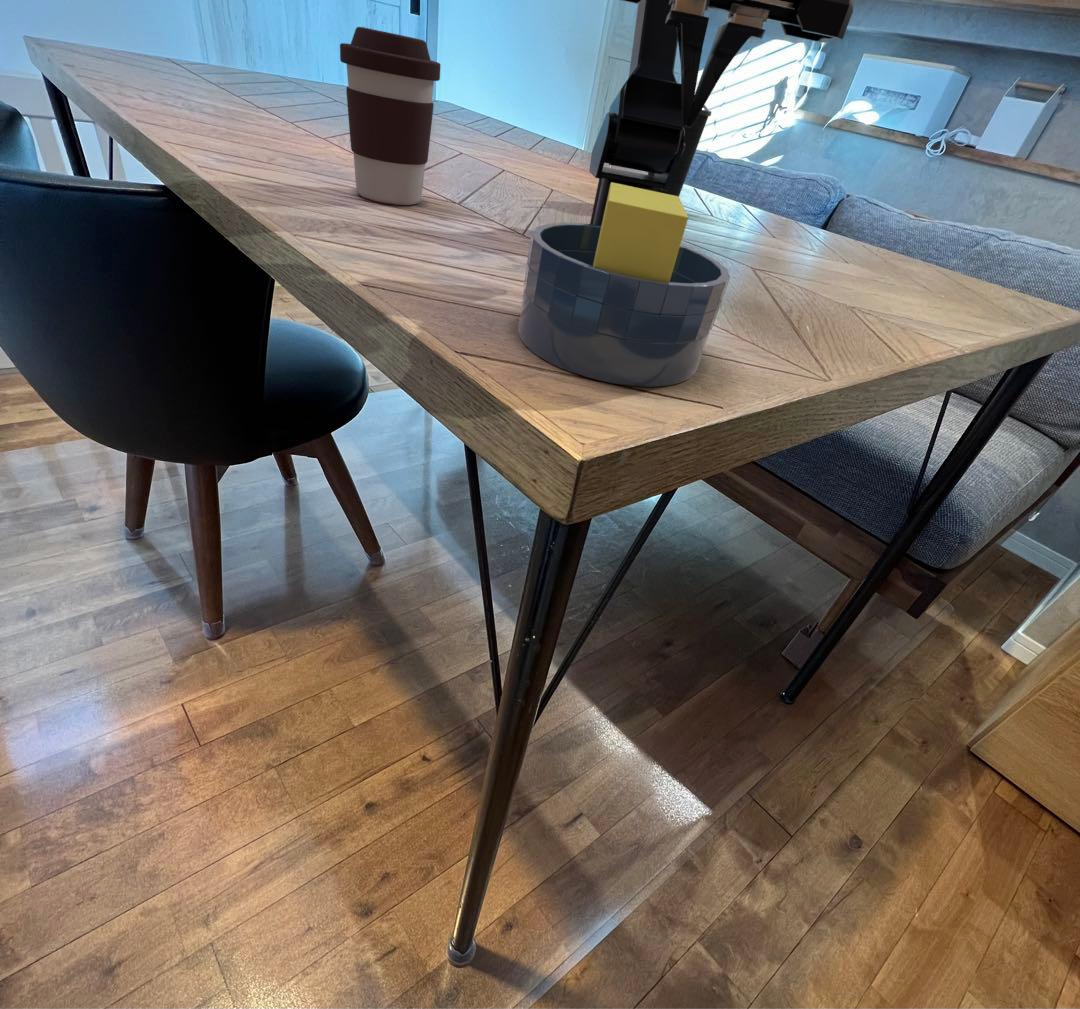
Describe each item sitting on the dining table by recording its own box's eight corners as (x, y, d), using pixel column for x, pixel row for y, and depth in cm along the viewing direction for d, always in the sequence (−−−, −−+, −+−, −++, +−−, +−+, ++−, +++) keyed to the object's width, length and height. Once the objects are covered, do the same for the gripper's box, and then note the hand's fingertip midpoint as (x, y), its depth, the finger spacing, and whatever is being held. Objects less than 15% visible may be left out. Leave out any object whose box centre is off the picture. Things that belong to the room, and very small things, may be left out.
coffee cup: (390, 212, 62) (392, 34, 53) (324, 189, 66) (316, 17, 57) (450, 206, 70) (461, 48, 61) (388, 185, 73) (390, 32, 64)
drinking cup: (681, 220, 88) (729, 54, 76) (631, 209, 88) (671, 42, 77) (681, 211, 94) (726, 57, 82) (635, 201, 95) (672, 46, 83)
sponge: (587, 290, 42) (610, 181, 38) (648, 303, 42) (679, 196, 38) (581, 323, 36) (608, 200, 32) (652, 338, 36) (688, 217, 32)
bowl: (483, 315, 43) (494, 220, 39) (616, 305, 50) (636, 224, 46) (594, 399, 35) (622, 290, 31) (734, 373, 42) (770, 282, 38)
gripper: (625, -210, 34) (572, 107, 44) (937, -144, 34) (818, 159, 44) (625, -150, 43) (581, 103, 53) (872, -98, 43) (785, 146, 53)
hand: (686, 126), depth 50 cm, fingers closed
